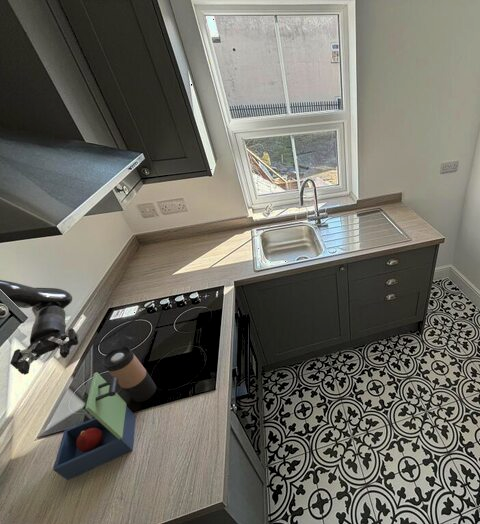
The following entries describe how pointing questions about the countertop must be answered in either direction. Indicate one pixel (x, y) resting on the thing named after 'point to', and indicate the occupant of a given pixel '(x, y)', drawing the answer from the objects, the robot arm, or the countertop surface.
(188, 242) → the countertop surface
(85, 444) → the onion
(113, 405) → the lunchbox lid
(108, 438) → the box
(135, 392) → the travel mug
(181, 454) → the countertop surface
